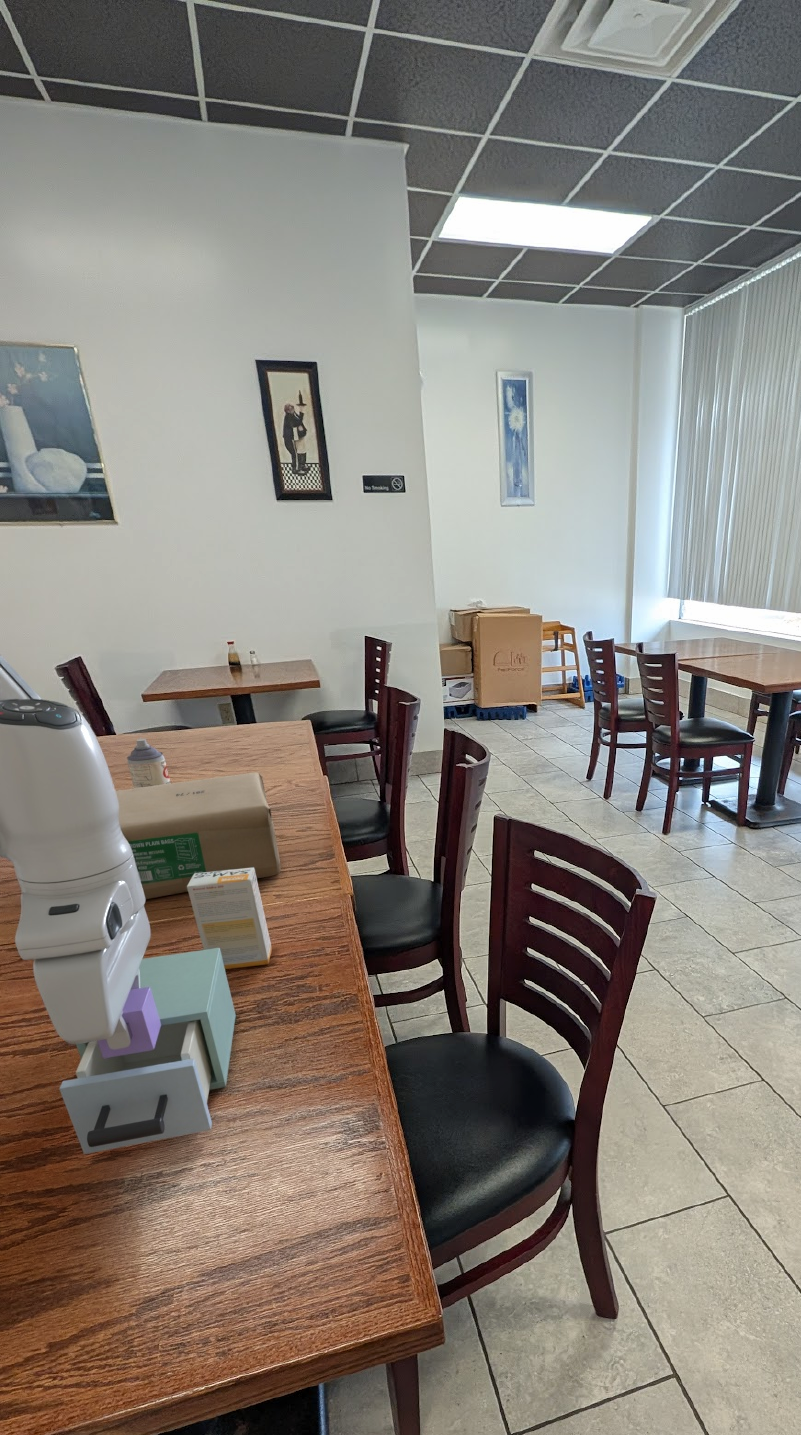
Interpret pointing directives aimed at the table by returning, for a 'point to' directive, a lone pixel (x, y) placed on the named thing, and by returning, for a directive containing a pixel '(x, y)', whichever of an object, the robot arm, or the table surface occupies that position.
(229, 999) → the mint green drawer box
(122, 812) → the paper package
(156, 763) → the aerosol can
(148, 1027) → the purple cube
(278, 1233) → the table surface
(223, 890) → the supplement box
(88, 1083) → the drawer
